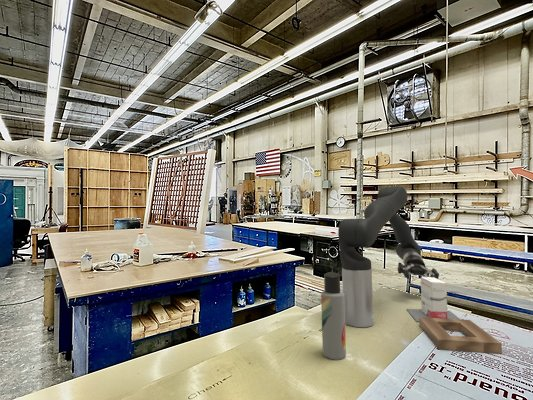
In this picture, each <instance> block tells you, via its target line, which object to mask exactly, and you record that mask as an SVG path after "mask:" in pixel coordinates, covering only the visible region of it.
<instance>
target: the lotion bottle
mask: <svg viewBox="0 0 533 400" xmlns="http://www.w3.org/2000/svg"><path fill="white" fill-rule="evenodd" d="M323 274H324V275H323V278H324V279H323V280H324V282H323V283H324V290H322V291H321V292H320V293H321V294H320V305H321V307H320V308H321V337H322V353H323V356H324V357H325V358H328V359H329V360H342V359H345V358H346V356H347V338H346V337H347V336H346V325H345V305H344V293H343V292H342V290H341V280H340V279H341V278H340V277H341V276H340V274H339V273H337V272H334V271H329V272H326V273H323Z"/></svg>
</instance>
